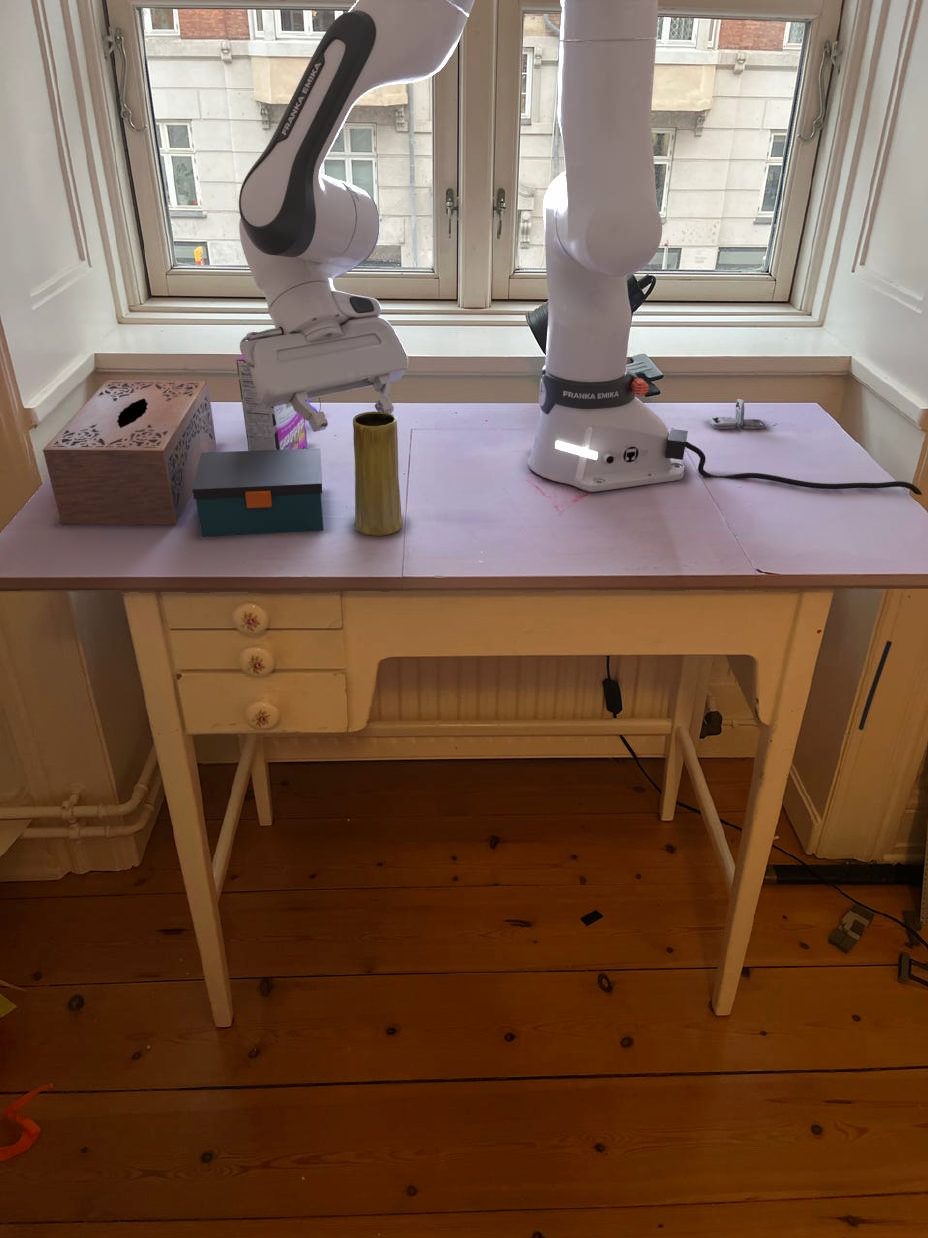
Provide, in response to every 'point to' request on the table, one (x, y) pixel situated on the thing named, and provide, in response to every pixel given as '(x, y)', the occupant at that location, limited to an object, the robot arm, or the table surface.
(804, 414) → the table surface
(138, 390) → the tissue box cover
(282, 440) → the candy bar box
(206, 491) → the lunchbox
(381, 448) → the vase
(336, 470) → the table surface
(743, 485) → the table surface
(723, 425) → the grey t-shaped piece
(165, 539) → the table surface
